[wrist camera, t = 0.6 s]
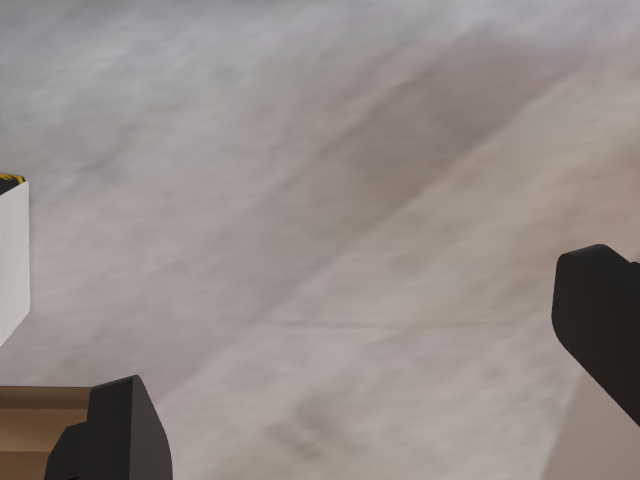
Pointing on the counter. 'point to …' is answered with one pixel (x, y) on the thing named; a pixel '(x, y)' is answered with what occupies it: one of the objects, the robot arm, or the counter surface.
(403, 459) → the counter surface
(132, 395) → the robot arm
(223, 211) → the counter surface
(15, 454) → the tall column
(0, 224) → the medicine bottle
